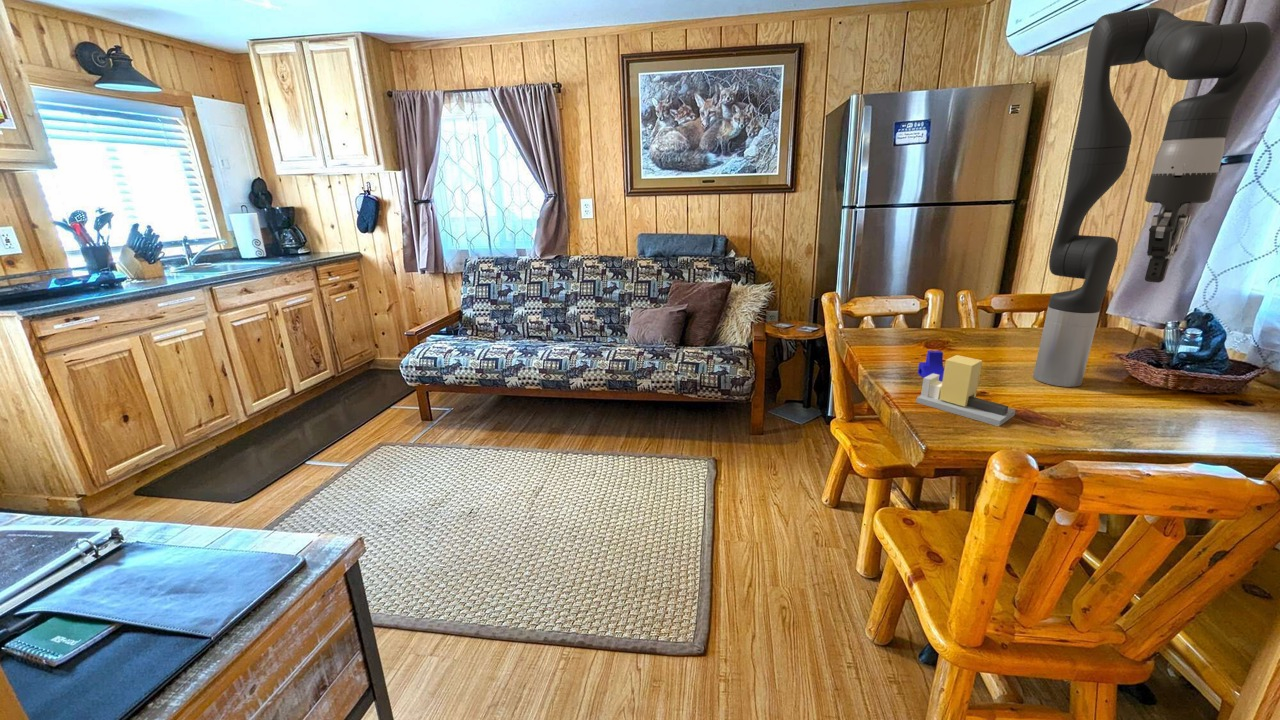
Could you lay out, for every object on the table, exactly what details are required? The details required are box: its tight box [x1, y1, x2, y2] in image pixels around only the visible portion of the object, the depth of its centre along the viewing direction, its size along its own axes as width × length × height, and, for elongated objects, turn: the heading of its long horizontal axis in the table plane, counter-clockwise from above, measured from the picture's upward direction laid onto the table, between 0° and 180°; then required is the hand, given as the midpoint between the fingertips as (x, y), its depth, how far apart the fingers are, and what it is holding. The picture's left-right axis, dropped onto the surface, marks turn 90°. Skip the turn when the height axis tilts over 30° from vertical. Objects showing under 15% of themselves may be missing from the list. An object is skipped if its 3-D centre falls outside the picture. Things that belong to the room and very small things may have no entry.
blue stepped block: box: [917, 350, 945, 381], centre depth 128 cm, size 12×4×6 cm, turn 173°
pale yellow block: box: [939, 354, 983, 407], centre depth 113 cm, size 5×5×9 cm
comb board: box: [915, 373, 1016, 427], centre depth 113 cm, size 8×16×5 cm, turn 38°
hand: (1153, 281), depth 90 cm, fingers closed
